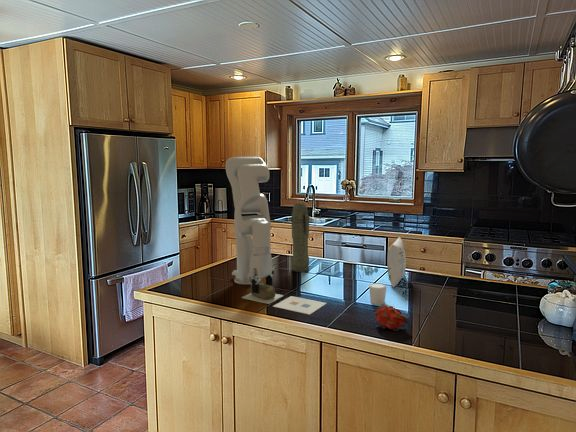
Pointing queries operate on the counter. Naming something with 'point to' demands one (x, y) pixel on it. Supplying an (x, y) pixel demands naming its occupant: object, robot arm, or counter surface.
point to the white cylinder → (377, 293)
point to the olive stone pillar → (300, 238)
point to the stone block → (264, 291)
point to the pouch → (396, 261)
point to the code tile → (300, 305)
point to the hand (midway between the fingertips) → (262, 289)
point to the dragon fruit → (390, 317)
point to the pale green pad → (255, 298)
